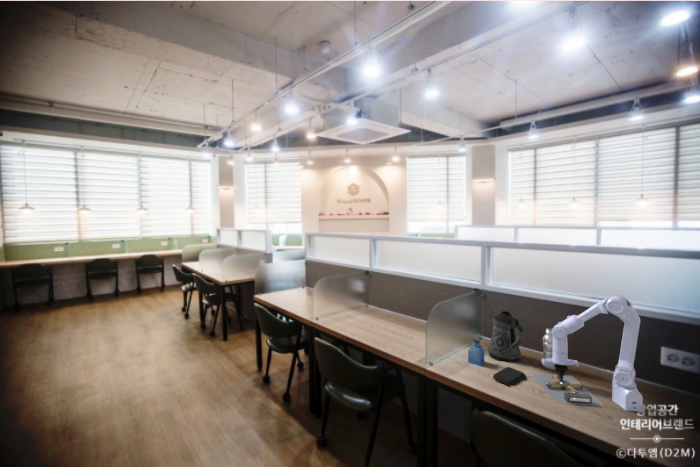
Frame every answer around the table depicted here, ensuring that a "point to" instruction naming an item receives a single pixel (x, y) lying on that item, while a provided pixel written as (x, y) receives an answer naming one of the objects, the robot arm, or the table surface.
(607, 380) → the table surface
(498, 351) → the beer stein
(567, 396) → the level window
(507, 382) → the carrying case or bag
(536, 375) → the level board
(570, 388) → the cam capstan
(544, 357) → the plastic bottle
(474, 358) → the perfume bottle
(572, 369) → the table surface
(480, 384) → the table surface
